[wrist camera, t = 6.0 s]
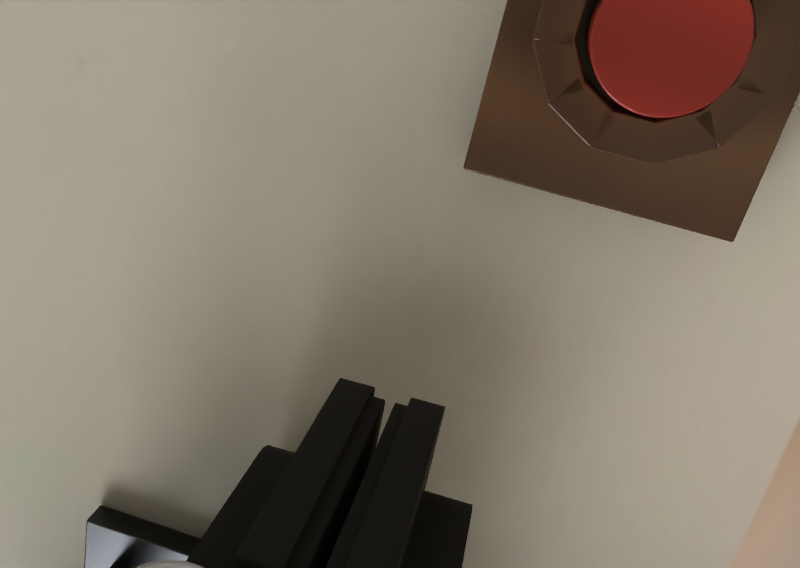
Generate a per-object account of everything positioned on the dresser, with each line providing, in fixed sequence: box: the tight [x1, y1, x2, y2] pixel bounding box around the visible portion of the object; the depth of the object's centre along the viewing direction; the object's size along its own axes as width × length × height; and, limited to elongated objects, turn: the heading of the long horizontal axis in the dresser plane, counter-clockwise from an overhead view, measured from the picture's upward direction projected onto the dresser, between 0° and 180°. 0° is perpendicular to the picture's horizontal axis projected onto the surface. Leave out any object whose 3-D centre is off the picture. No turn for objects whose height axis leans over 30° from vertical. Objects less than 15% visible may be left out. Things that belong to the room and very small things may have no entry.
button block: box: [464, 0, 800, 242], centre depth 22 cm, size 11×9×4 cm
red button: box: [588, 0, 755, 118], centre depth 19 cm, size 4×4×2 cm
